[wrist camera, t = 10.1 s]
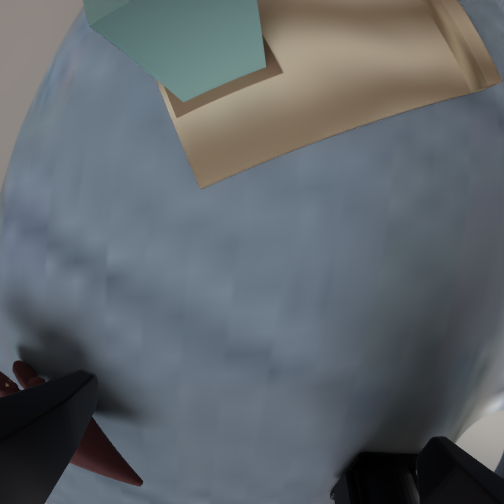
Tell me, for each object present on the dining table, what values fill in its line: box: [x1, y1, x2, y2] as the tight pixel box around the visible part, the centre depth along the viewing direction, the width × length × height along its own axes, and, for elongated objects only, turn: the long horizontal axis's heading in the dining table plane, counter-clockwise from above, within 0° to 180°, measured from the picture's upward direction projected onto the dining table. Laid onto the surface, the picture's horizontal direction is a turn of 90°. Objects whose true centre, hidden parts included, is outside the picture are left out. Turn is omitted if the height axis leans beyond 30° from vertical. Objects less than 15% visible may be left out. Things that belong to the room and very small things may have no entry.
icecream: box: [0, 361, 143, 486], centre depth 19 cm, size 7×7×15 cm
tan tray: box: [157, 0, 502, 189], centre depth 14 cm, size 15×20×2 cm
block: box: [83, 0, 266, 102], centre depth 11 cm, size 5×5×10 cm
